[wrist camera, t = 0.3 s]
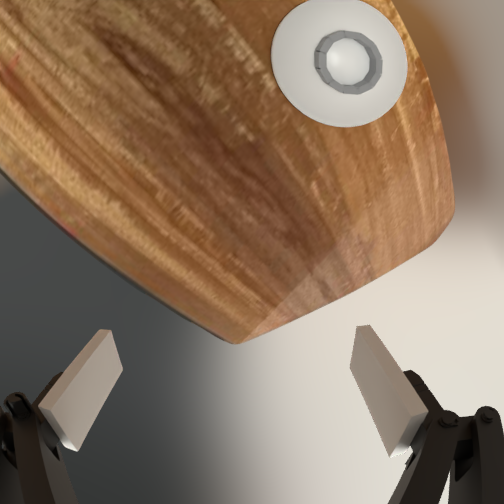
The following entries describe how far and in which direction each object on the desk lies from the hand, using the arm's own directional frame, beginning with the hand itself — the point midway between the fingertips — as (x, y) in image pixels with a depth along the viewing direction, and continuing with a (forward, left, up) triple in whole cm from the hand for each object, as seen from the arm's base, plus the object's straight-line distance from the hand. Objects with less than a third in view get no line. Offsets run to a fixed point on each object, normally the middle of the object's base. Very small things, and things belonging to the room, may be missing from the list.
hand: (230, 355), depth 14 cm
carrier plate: (-1, +20, -32) cm, 38 cm away
